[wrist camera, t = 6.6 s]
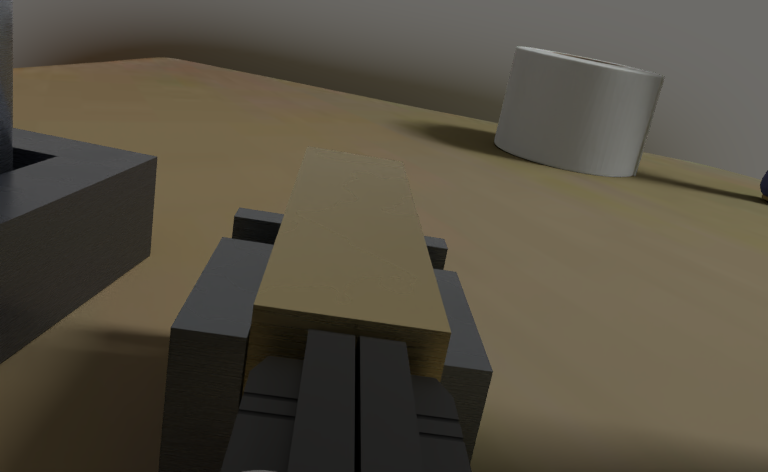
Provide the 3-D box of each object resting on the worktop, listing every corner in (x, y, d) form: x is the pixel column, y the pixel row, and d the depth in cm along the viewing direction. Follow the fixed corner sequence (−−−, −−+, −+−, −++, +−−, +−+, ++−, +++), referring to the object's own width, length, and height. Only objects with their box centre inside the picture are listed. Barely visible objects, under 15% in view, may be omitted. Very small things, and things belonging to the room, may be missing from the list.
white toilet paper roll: (661, 176, 77) (691, 77, 74) (582, 180, 67) (613, 65, 63) (548, 141, 87) (569, 53, 84) (464, 139, 77) (485, 39, 74)
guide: (447, 553, 17) (492, 371, 15) (154, 520, 16) (170, 327, 15) (417, 367, 26) (444, 238, 24) (224, 340, 25) (239, 207, 23)
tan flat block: (369, 696, 13) (451, 332, 11) (206, 680, 13) (253, 304, 10) (363, 371, 24) (402, 161, 22) (277, 360, 24) (307, 146, 22)
